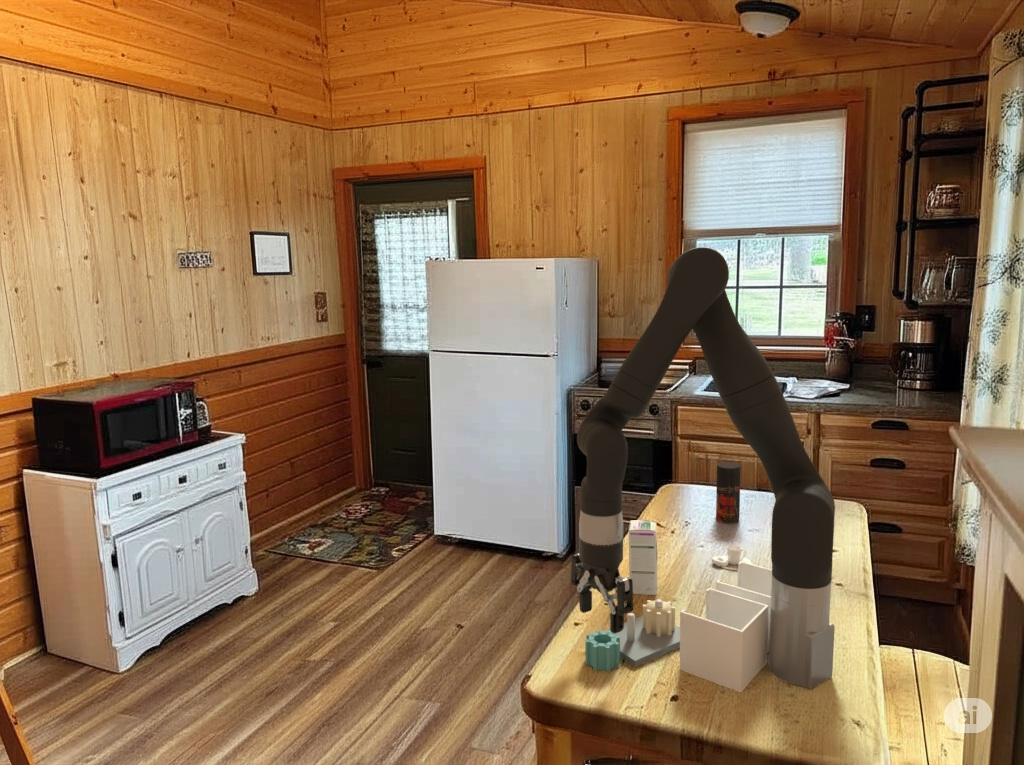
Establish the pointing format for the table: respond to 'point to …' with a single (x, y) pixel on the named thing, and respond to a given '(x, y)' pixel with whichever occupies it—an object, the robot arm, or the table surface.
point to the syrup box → (643, 556)
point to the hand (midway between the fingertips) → (600, 621)
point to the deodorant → (728, 492)
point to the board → (649, 633)
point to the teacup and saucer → (731, 557)
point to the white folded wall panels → (730, 630)
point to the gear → (602, 650)
